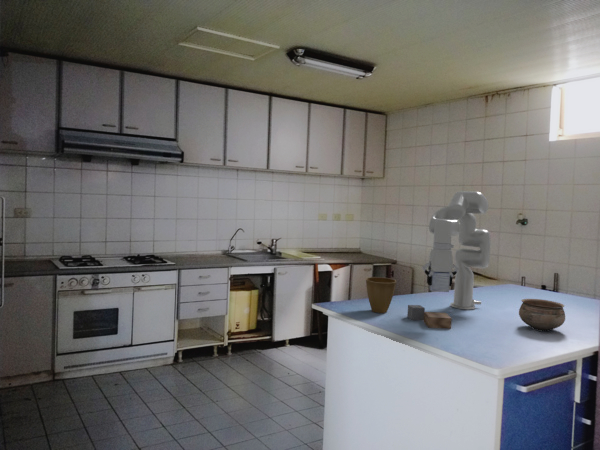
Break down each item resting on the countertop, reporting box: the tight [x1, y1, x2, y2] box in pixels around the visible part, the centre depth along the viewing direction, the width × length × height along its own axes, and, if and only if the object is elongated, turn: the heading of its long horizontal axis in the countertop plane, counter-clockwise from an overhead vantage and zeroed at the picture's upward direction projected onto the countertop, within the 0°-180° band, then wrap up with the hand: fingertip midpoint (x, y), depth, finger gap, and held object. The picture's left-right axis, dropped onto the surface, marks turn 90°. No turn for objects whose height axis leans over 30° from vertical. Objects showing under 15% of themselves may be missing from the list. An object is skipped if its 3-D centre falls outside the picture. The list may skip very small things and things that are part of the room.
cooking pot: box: [518, 298, 566, 332], centre depth 218 cm, size 25×19×12 cm
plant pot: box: [365, 276, 397, 314], centre depth 238 cm, size 15×15×16 cm
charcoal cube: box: [406, 304, 426, 322], centre depth 227 cm, size 6×6×6 cm
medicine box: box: [429, 272, 450, 293], centre depth 216 cm, size 8×4×9 cm, turn 85°
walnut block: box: [422, 311, 453, 330], centre depth 217 cm, size 10×10×5 cm
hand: (439, 285), depth 216 cm, fingers closed on medicine box, 8 cm apart
